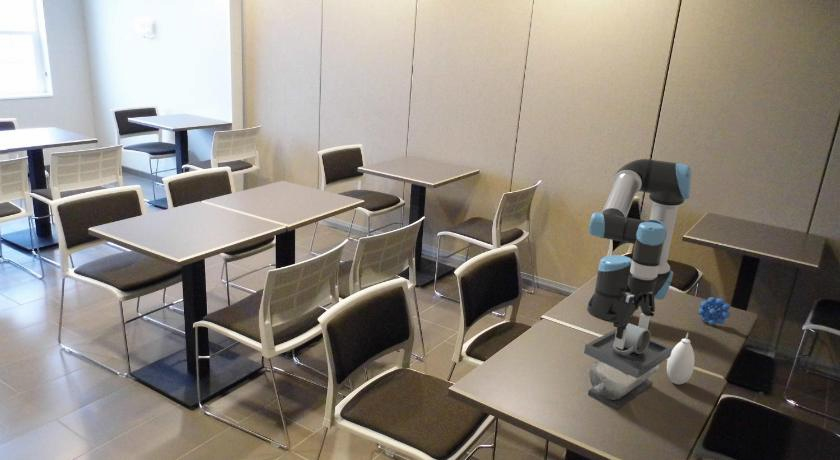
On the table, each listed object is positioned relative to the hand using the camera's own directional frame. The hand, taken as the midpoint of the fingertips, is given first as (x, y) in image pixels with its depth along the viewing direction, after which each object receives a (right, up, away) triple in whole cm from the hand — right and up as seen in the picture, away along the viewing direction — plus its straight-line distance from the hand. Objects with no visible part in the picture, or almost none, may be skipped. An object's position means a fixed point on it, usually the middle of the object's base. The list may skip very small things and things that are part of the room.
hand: (630, 340), depth 182 cm
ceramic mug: (0, -3, +1) cm, 3 cm away
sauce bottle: (+19, -16, +12) cm, 27 cm away
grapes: (+51, -4, +55) cm, 75 cm away
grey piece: (-1, -16, +5) cm, 17 cm away
